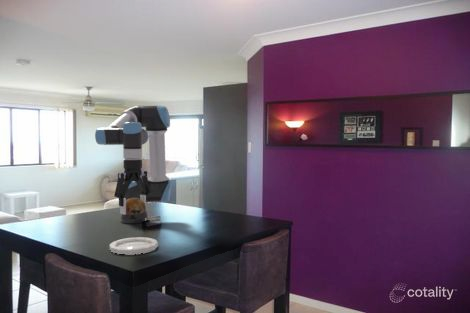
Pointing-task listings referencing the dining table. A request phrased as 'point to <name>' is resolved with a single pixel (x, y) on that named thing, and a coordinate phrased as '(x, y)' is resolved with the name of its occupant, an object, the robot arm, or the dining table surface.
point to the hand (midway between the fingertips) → (133, 211)
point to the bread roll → (135, 206)
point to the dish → (133, 245)
